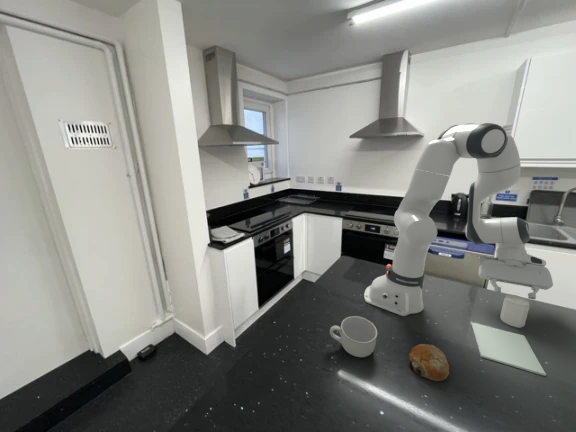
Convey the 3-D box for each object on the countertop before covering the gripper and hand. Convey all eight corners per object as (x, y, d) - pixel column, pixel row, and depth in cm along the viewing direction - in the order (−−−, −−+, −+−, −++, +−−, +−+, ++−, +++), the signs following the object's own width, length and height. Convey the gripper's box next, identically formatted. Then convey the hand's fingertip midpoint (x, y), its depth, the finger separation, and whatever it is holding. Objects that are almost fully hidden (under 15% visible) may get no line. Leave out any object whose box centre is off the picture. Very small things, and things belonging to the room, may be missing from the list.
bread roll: (445, 395, 64) (464, 376, 62) (409, 376, 65) (427, 356, 62) (431, 364, 74) (447, 346, 71) (400, 348, 74) (415, 330, 72)
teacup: (375, 340, 78) (377, 319, 76) (375, 368, 68) (377, 344, 66) (332, 331, 83) (333, 311, 81) (327, 355, 73) (327, 333, 71)
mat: (481, 356, 72) (481, 355, 71) (471, 323, 85) (471, 322, 85) (545, 376, 65) (545, 374, 65) (523, 337, 79) (524, 335, 79)
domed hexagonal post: (503, 324, 85) (508, 301, 83) (498, 314, 90) (503, 292, 88) (526, 329, 82) (532, 306, 80) (519, 318, 87) (525, 297, 85)
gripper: (480, 251, 94) (481, 285, 89) (552, 261, 85) (558, 300, 79) (475, 257, 99) (476, 290, 94) (543, 267, 90) (548, 304, 84)
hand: (514, 295), depth 86 cm, fingers open, 8 cm apart
